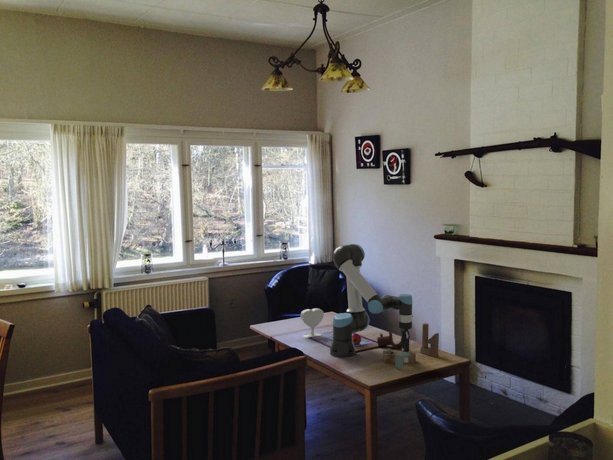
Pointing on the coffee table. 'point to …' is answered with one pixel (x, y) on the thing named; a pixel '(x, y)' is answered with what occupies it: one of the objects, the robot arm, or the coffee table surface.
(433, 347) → the wooden block
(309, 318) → the heart sculpture
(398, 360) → the keeper
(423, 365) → the coffee table surface
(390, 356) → the link
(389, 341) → the brown toy figure
